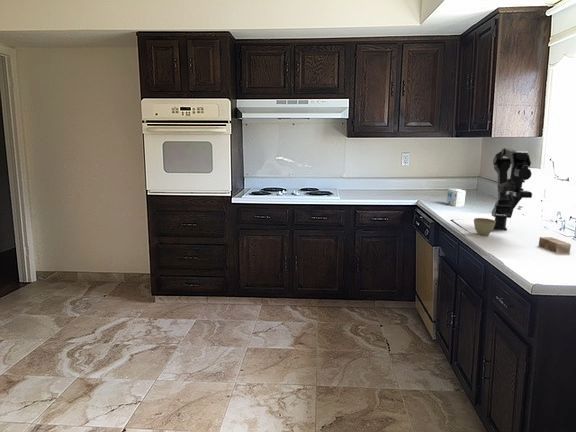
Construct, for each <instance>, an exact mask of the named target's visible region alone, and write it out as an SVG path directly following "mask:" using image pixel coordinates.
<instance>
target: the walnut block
mask: <svg viewBox="0 0 576 432" xmlns="http://www.w3.org/2000/svg"><path fill="white" fill-rule="evenodd" d="M538 246H539V247H541V248H544V249H546V250H549V251H551V252H554V253H556V254H570V253H571V248H572V247H571V246H572V244H571V243H570V242H566V241H563V240H561V239H558V238H555V237H549V236H547V237H546V236H544V237H543V236H541V237H539V240H538Z"/></svg>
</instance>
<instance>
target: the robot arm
mask: <svg viewBox="0 0 576 432" xmlns="http://www.w3.org/2000/svg"><path fill="white" fill-rule="evenodd" d="M492 165H493V170H494V171H495V172H496V174H497V186H496V187H497V199H496V202H495V204H494V207H493V208H492V210H491V216H492V217H494V220H495V221H496V223H495V226H494V228H493V229H494V230H495V229H496V230H504V231H507V230H508V227H507V220H508V219H511V218H512V215H513V212H514V209H515V208H516V206H517V205H518V204H519V202H520V201H521V200H522V199H523V198H525V199H531V198H533V192H531V191H528V190H524V188H522V187H523V184H524V183H525V182H526V181H528V180H529V179H530V178H531V177H532V174H533V173H532V171H531V169H530V168H529V167H531V165H532V162H531V158H530V155H529V153H528V151H519V150H518V151H517V150H514V149H513V148H512V147H511V148H506V147H504V148H501V150H500V151H499V152H498V153H496V154H495V156H494V157H493V160H492ZM510 168H511V169H510ZM509 169H510V176H509V178H508V171H509Z"/></svg>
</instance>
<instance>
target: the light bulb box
mask: <svg viewBox="0 0 576 432" xmlns="http://www.w3.org/2000/svg"><path fill="white" fill-rule="evenodd" d="M466 193H467V192H466V190H464V189H459V188H447V195H446V197H447V198H446V205H449V206H452V207H456V208H457V207H465V199H466Z"/></svg>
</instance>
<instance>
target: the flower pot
mask: <svg viewBox="0 0 576 432" xmlns="http://www.w3.org/2000/svg"><path fill="white" fill-rule="evenodd" d="M495 223H496V221H495V219H493V218H492V219H490V218H485V217H484V218H483V217H475V218H474V219H473V226H474V229H475V231H476V233H477V235H479V236H489V235H491V232H492V231H493V229H494V226H495Z"/></svg>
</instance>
